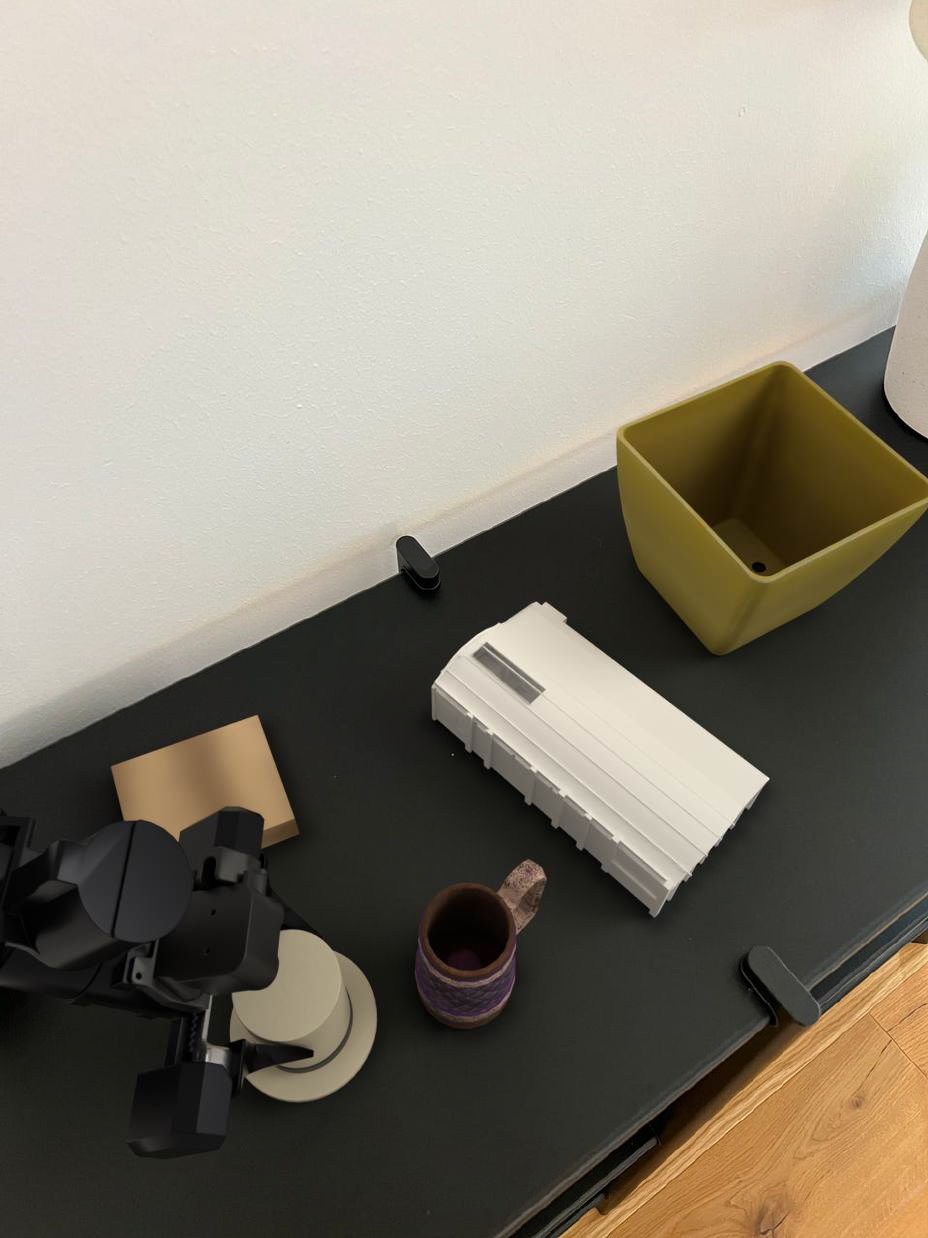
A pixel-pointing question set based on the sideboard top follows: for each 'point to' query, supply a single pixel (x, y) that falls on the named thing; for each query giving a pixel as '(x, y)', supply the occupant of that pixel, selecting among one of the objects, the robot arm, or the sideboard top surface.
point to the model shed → (595, 750)
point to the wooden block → (207, 781)
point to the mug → (474, 946)
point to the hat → (308, 1019)
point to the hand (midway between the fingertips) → (314, 997)
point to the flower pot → (759, 502)
